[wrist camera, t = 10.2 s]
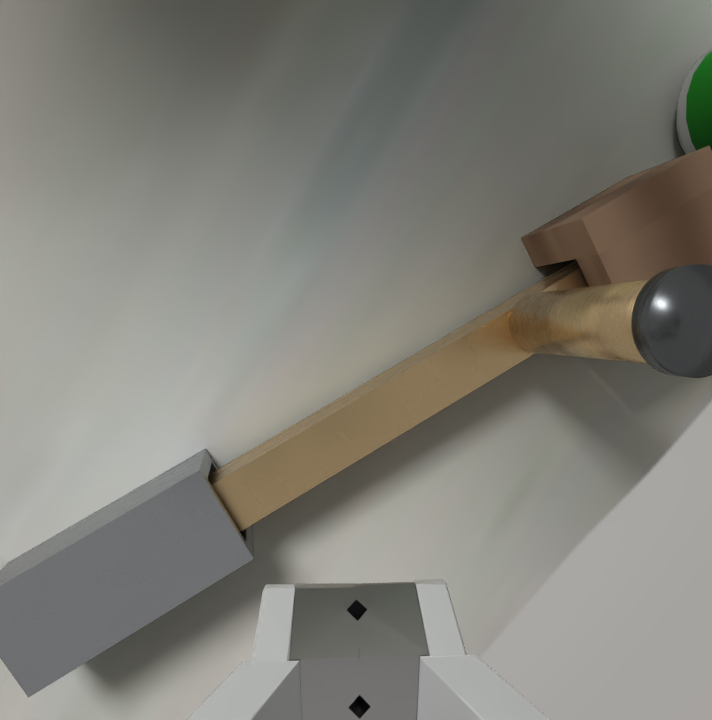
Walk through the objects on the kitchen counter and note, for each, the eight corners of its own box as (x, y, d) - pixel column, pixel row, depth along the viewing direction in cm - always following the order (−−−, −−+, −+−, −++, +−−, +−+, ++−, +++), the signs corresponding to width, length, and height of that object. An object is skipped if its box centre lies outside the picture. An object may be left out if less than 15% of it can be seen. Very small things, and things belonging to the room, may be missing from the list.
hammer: (232, 530, 27) (223, 690, 15) (194, 470, 27) (155, 586, 15) (606, 305, 30) (843, 291, 18) (578, 247, 30) (804, 193, 18)
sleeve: (61, 640, 27) (28, 697, 23) (7, 562, 26) (-36, 606, 22) (252, 525, 28) (253, 559, 24) (205, 448, 28) (199, 469, 23)
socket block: (578, 355, 31) (648, 361, 26) (520, 238, 30) (581, 218, 25) (680, 292, 32) (769, 286, 27) (628, 176, 31) (709, 145, 26)
